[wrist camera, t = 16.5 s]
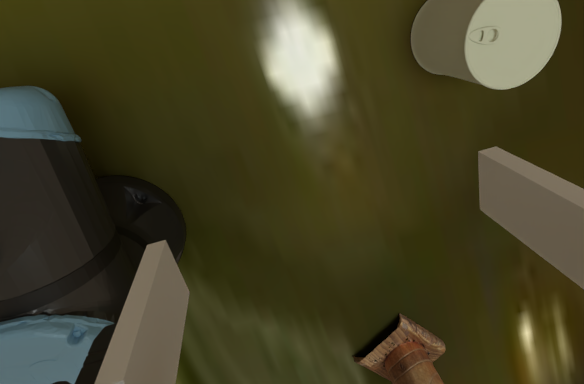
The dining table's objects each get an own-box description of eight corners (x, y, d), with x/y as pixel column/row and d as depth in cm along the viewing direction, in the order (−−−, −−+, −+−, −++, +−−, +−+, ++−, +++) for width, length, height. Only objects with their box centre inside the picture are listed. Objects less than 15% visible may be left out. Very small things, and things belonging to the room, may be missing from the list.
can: (416, -14, 42) (480, -25, 31) (494, -11, 44) (581, -20, 33) (404, 74, 46) (457, 91, 35) (476, 74, 47) (549, 91, 36)
